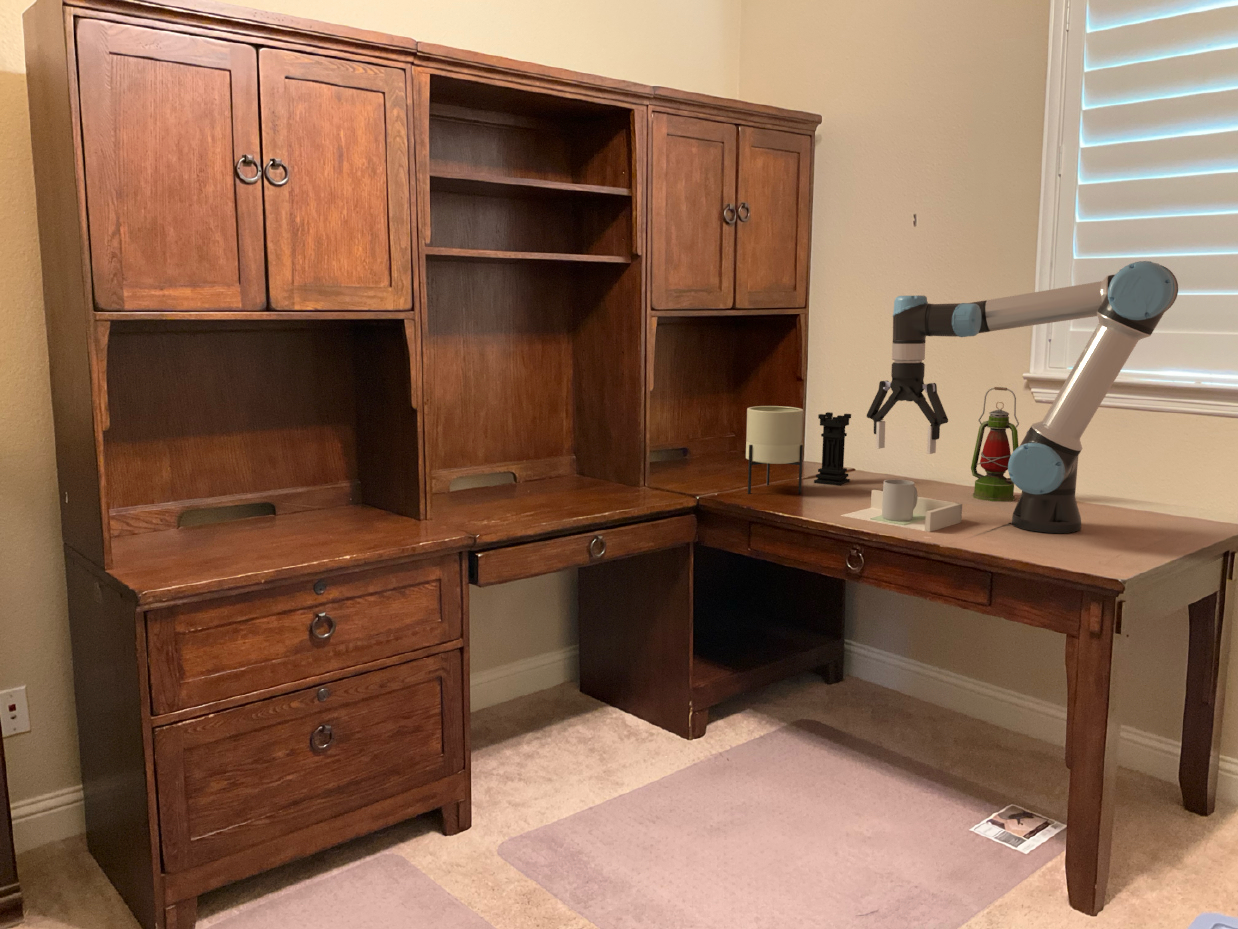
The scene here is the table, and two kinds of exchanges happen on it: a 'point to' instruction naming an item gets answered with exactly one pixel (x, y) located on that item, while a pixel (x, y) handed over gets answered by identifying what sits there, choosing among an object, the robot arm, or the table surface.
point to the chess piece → (833, 449)
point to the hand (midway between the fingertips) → (905, 450)
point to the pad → (914, 519)
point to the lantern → (995, 455)
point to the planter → (774, 438)
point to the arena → (916, 513)
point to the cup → (899, 500)
